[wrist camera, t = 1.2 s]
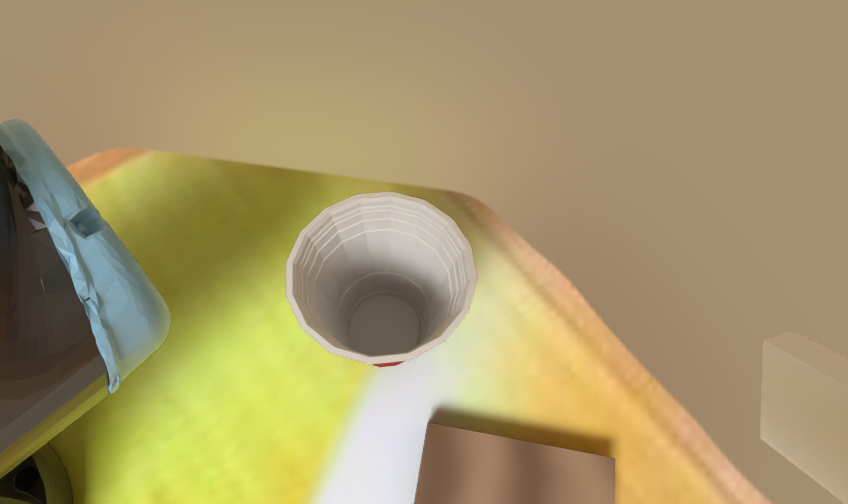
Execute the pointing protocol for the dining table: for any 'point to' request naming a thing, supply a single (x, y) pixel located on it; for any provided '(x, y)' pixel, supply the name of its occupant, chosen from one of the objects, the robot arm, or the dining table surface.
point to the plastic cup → (380, 278)
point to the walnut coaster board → (508, 471)
